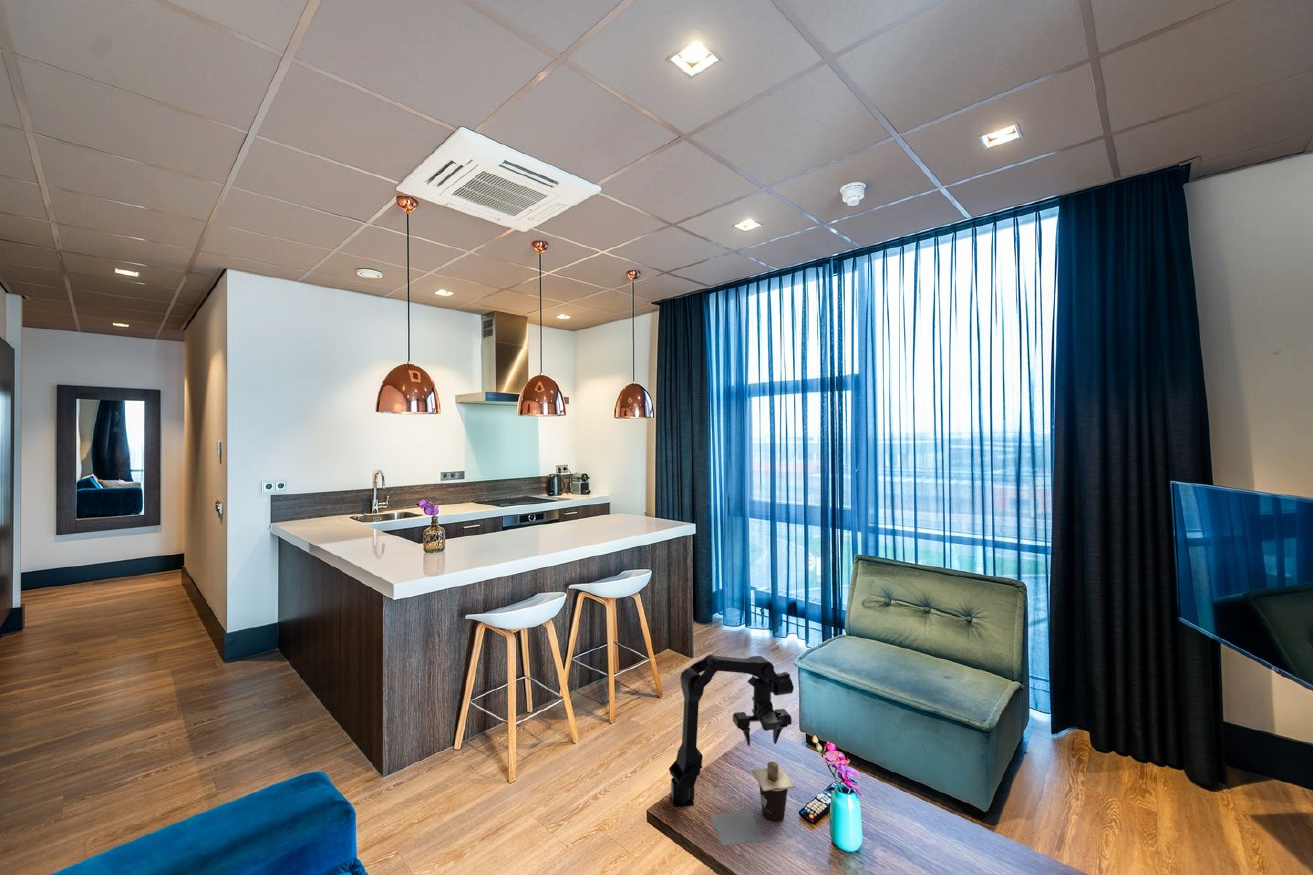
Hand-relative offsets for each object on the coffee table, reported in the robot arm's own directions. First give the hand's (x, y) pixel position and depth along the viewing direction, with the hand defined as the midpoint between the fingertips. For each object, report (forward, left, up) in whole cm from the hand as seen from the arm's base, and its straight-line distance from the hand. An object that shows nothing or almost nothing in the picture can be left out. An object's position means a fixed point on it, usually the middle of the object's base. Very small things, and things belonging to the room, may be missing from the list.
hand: (761, 744), depth 182 cm
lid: (-2, -14, -3) cm, 15 cm away
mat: (-15, -19, -13) cm, 27 cm away
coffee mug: (-2, -14, -13) cm, 19 cm away
